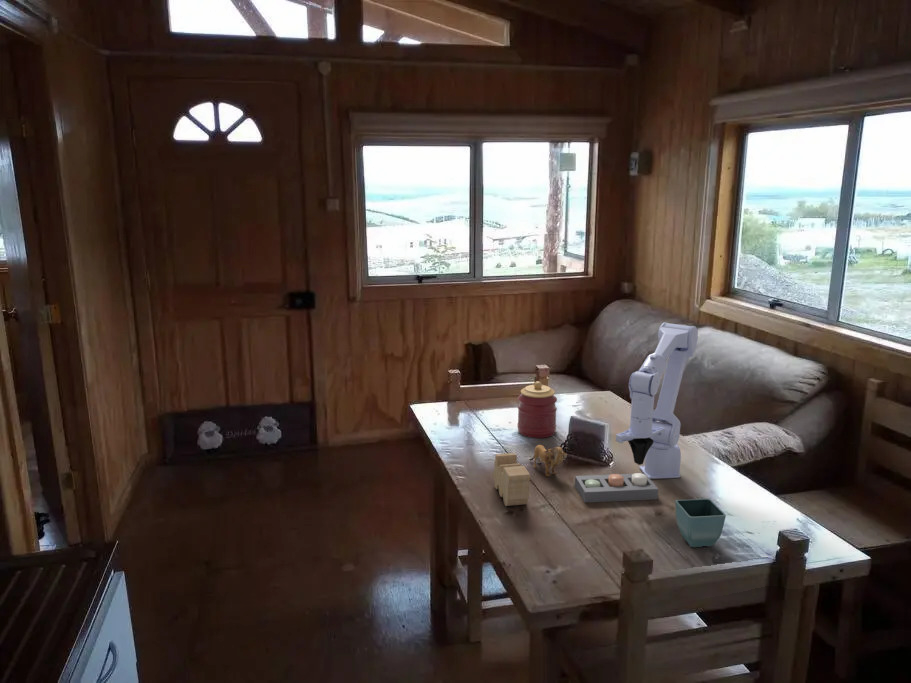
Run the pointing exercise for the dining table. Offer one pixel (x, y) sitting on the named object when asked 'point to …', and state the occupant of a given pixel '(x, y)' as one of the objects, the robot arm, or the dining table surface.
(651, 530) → the dining table surface
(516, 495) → the toy train
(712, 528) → the flower pot
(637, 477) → the cream button
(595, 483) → the sage button
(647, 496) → the button panel
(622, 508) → the dining table surface
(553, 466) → the lion figurine
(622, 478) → the terracotta button
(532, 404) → the canister
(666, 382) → the robot arm
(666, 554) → the dining table surface
